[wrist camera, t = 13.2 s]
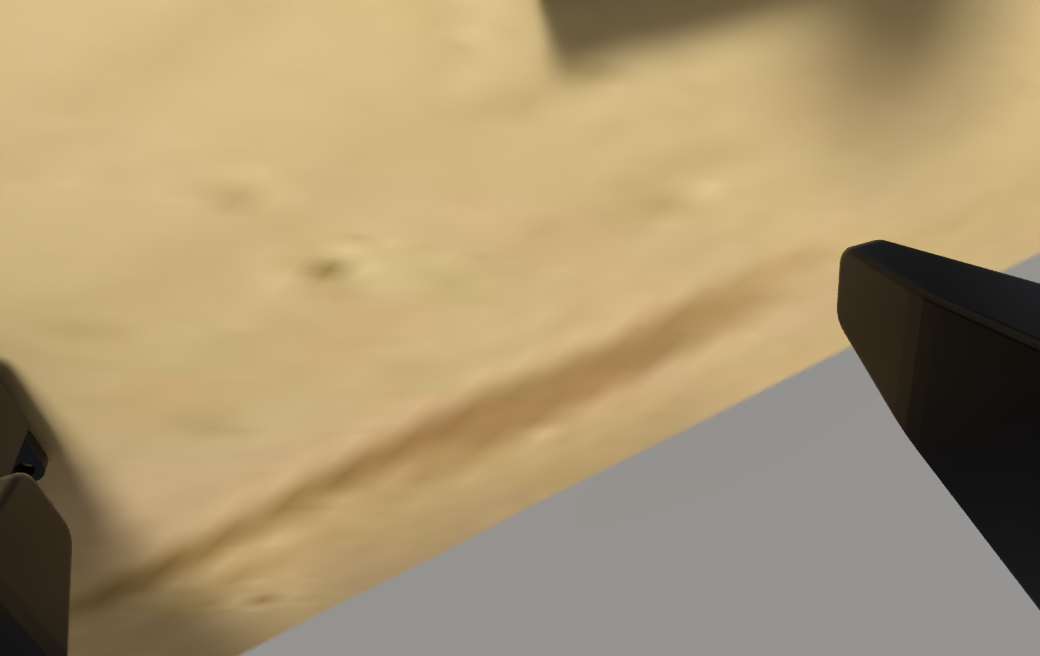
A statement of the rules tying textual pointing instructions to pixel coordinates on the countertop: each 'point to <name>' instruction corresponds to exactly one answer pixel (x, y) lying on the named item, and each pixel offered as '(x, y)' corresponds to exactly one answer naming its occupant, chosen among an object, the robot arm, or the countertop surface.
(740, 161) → the countertop surface
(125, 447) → the countertop surface
